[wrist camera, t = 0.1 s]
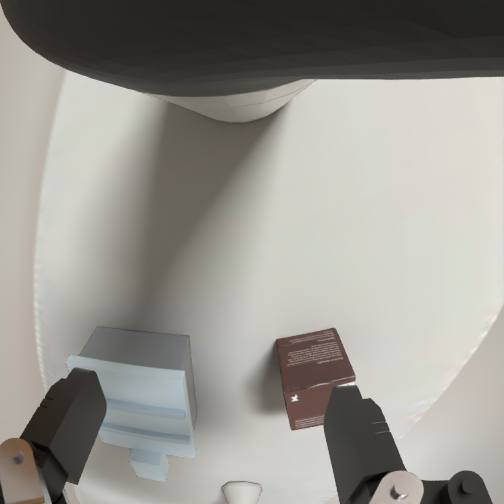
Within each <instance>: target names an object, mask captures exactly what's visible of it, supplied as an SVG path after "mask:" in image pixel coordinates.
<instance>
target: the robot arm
mask: <svg viewBox="0 0 504 504" xmlns="http://www.w3.org/2000/svg"><path fill="white" fill-rule="evenodd" d="M0 3H1V6H2V9H3V12H4V15H5V17H6V18H7V20H8V22H9V24H10V25H11V27H12V29H13V30H14V32H15V33H16V34H17V35H18V36H19V38H20V39H21V40H22V41H23V42H24V43H25V44H26V45H27V46H29V47H30V48H31V49H32V50H33V51H35V52H36V53H38V54H40V55H41V56H42V57H44V58H46V59H47V60H49V61H51V62H52V63H54V64H57V65H59V66H61V67H63V68H65V69H67V70H69V71H72V72H75V73H78V74H81V75H84V76H87V77H90V78H93V79H96V80H99V81H103V82H107V83H110V84H114V85H117V86H120V87H124V88H127V89H132V90H135V91H138V92H141V93H144V94H147V95H150V96H153V97H156V98H159V99H162V100H165V101H168V102H171V103H174V104H177V105H179V106H182V107H185V108H187V109H190V110H193V111H195V112H198V113H200V114H203V115H204V116H206V117H209V118H211V119H214V120H218V121H223V122H230V123H242V122H251V121H255V120H258V119H262V118H264V117H266V116H268V115H270V114H272V113H273V112H275V111H276V110H277V109H279V108H280V107H282V106H283V105H285V104H286V103H287V102H288V101H290V100H291V99H292V98H294V97H295V96H296V95H298V94H299V93H300V92H301V91H303V90H304V89H305V88H307V87H308V86H309V85H311V84H312V83H314V82H315V81H316V80H318V79H384V80H397V79H448V78H468V77H504V0H0ZM106 411H107V403H106V399H105V396H104V393H103V390H102V387H101V385H100V382H99V379H98V376H97V373H96V372H95V371H92V370H87V369H82V368H78V367H75V368H73V369H72V371H71V372H70V374H69V375H68V377H67V378H66V379H63V378H62V379H60V380H59V381H58V382H56V383H55V384H54V385H52V386H51V388H50V389H49V391H48V392H47V394H46V396H45V399H43V400H42V402H41V404H40V407H38V408H37V410H36V412H35V413H34V415H33V416H32V418H31V420H30V421H29V423H28V425H27V426H26V428H25V430H24V432H23V433H22V435H21V436H20V437H19V438H11V439H8V440H6V441H4V442H3V443H2V444H1V445H0V504H70V501H69V499H68V496H67V493H66V491H65V489H64V485H65V483H66V481H67V482H70V483H73V484H76V485H78V482H79V479H80V477H81V474H82V472H83V469H84V466H85V464H86V461H87V459H88V456H89V454H90V451H91V449H92V446H93V444H94V442H95V439H96V437H97V434H98V432H99V430H100V427H101V425H102V423H103V420H104V418H105V415H106ZM385 421H386V420H385V417H384V415H383V413H382V410H381V408H380V407H379V406H378V405H377V404H376V403H375V402H374V401H373V400H372V399H371V398H368V399H362V396H361V394H360V391H359V389H358V387H357V386H356V385H348V386H334V387H333V389H332V392H331V395H330V398H329V402H328V405H327V408H326V411H325V415H324V433H325V437H326V442H327V446H328V450H329V455H330V459H331V464H332V468H333V473H334V478H335V482H336V487H337V492H338V496H339V501H340V504H493V503H492V501H491V499H490V496H489V494H488V491H487V489H486V486H485V484H484V482H483V480H482V478H481V477H480V476H479V475H478V474H476V473H475V472H472V471H461V472H458V473H457V474H455V475H454V476H453V477H452V478H451V479H450V480H444V481H425V480H420V479H419V478H418V476H416V475H415V474H413V473H411V472H408V471H407V470H406V468H405V466H404V464H403V462H402V459H401V457H400V454H399V451H398V449H397V447H396V444H395V442H394V439H393V437H392V434H391V432H389V430H390V429H389V427H388V425H387V422H385Z"/></svg>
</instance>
